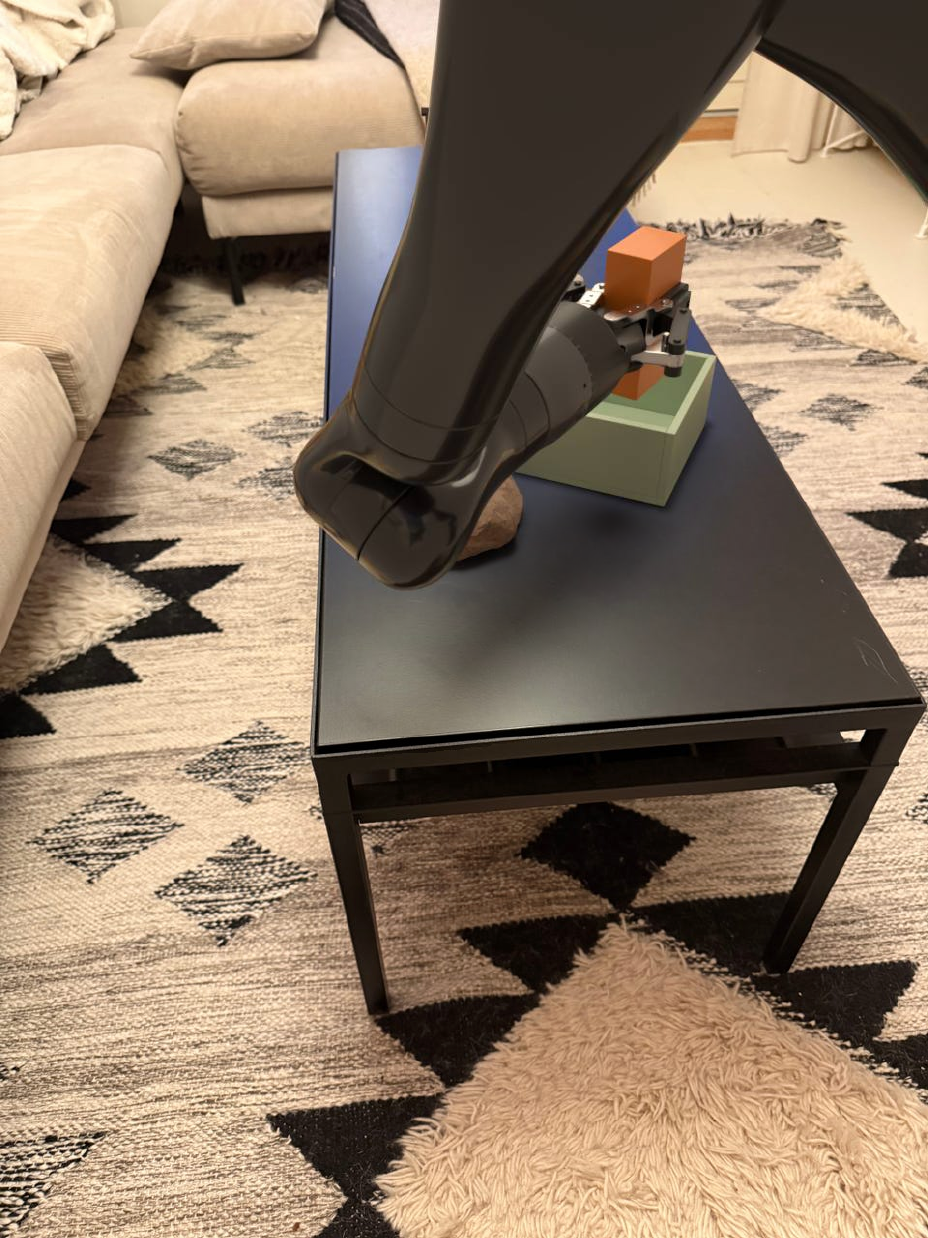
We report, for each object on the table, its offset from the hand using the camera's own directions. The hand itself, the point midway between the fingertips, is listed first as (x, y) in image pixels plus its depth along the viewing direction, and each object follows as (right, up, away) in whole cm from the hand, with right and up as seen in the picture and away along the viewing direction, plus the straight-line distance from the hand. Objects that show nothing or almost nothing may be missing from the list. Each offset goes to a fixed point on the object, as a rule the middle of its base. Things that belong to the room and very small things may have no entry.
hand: (657, 288), depth 71 cm
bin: (0, -8, +22) cm, 23 cm away
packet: (-1, -6, +3) cm, 7 cm away
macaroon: (-2, +17, +49) cm, 52 cm away
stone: (-15, -17, +13) cm, 26 cm away
